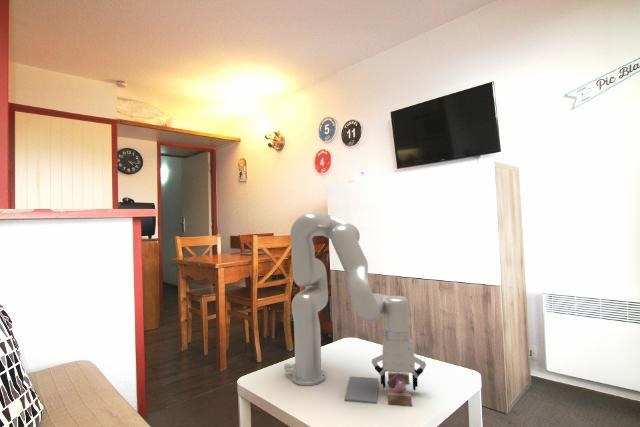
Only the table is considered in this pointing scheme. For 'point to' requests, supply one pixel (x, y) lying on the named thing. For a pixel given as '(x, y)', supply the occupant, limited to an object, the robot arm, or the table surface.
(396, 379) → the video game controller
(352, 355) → the table surface
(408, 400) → the dock
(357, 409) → the table surface
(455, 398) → the table surface
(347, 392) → the mat
